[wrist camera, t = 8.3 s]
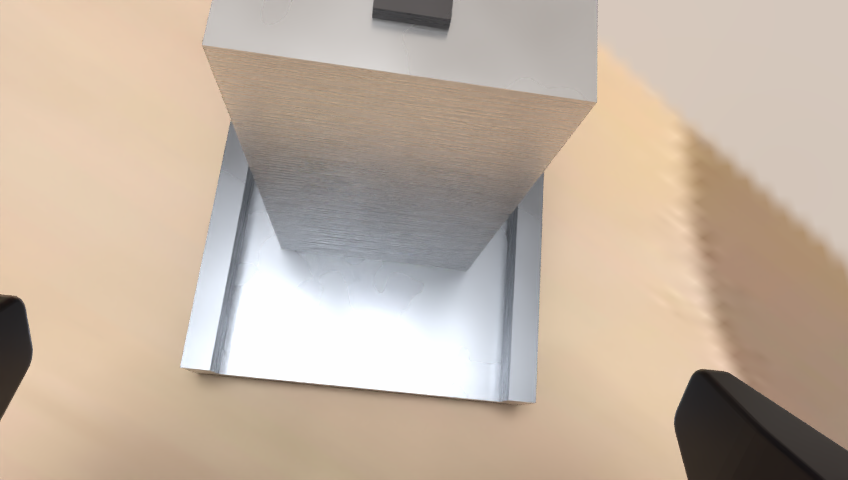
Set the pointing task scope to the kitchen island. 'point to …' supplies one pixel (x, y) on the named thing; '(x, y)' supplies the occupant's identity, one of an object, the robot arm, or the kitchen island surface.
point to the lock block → (401, 115)
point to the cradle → (364, 308)
